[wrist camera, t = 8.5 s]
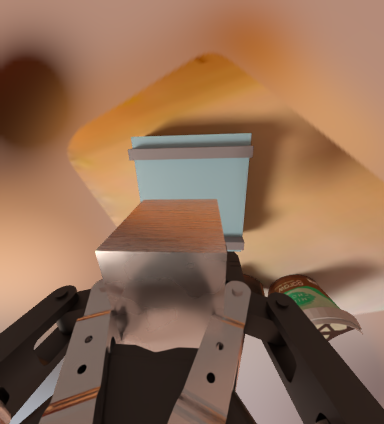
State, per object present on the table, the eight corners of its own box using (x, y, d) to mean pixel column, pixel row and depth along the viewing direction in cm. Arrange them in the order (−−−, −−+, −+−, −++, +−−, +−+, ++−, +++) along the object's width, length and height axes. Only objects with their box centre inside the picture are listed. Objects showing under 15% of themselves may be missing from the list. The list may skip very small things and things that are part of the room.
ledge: (243, 133, 25) (254, 132, 19) (235, 234, 31) (242, 257, 25) (144, 136, 26) (125, 137, 20) (155, 233, 32) (144, 256, 26)
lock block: (217, 199, 12) (226, 253, 7) (214, 289, 15) (220, 377, 10) (143, 199, 12) (94, 251, 7) (156, 287, 16) (129, 371, 10)
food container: (307, 257, 32) (347, 306, 23) (323, 279, 34) (367, 333, 25) (248, 289, 36) (263, 342, 27) (265, 307, 38) (285, 363, 28)
